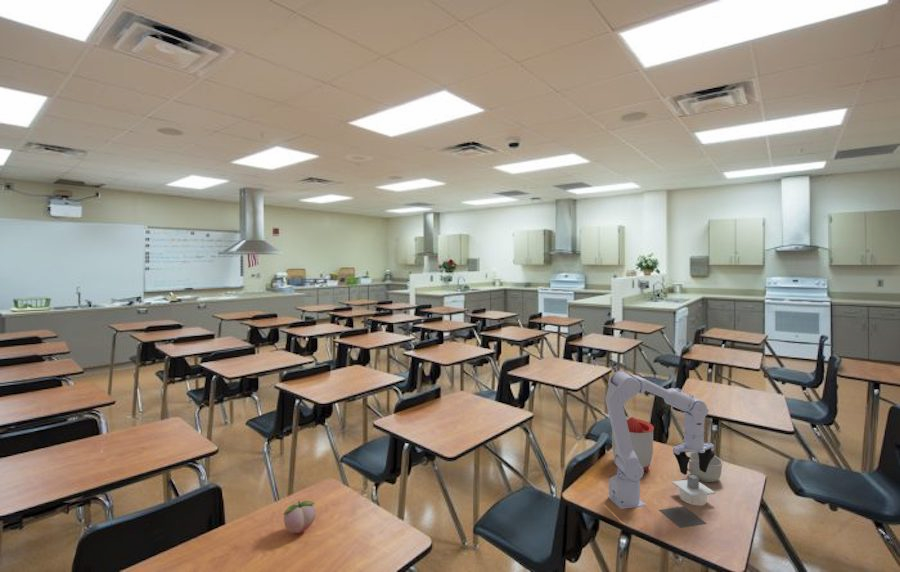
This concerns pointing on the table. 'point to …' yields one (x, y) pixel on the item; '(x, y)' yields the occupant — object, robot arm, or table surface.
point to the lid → (693, 486)
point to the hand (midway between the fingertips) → (693, 472)
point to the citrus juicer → (640, 440)
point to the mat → (682, 517)
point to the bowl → (693, 499)
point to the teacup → (712, 470)
